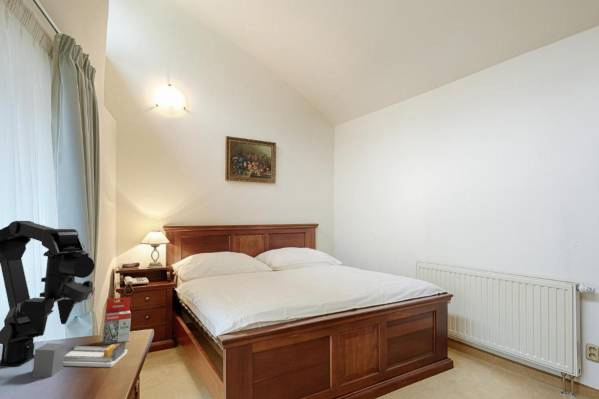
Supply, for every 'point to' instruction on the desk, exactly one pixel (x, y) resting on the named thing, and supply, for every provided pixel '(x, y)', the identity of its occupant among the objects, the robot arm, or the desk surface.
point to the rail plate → (93, 356)
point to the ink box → (117, 321)
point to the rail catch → (109, 350)
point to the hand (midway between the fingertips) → (52, 329)
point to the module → (48, 359)
